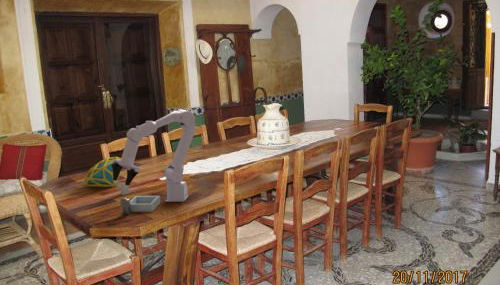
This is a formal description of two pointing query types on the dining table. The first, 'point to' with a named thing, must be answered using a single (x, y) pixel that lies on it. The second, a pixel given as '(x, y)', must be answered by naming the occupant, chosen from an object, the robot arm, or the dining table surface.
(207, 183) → the dining table surface
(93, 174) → the decorative object
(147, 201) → the dish
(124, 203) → the battery cell
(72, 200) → the dining table surface
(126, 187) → the lighter
